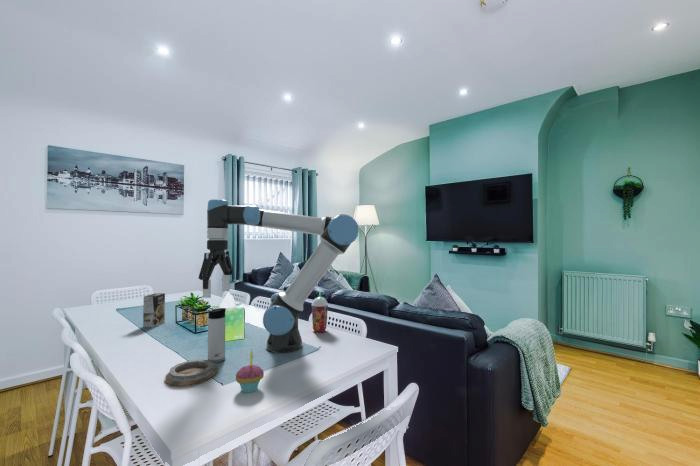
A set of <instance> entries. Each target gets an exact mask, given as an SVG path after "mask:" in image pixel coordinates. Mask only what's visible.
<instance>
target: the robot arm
mask: <svg viewBox="0 0 700 466" xmlns="http://www.w3.org/2000/svg"><path fill="white" fill-rule="evenodd" d="M206 213H207V214H206V216H207V217H206V219H207V220H206V221H207V223H206V224H207V225H206V226H207V227H206V229H207V230H206V234H207V235H206V238H207V239H208V240H207V241H206V249H207V250H208V251H209V252H204V255H203V260H202V263H201V268H200V270H199V274H198V279H199V280H200V281H202V298H205V299H210V298H211V297H212V295H211V294H212V293H211V292H212V280H211V279H210V278H211V277H212V275H213V272H214V270H215V268H216V266H218V265H219V266H220V268H221V271H222V273H223V274H222V287H221V288H222V292H230V288H231V287H230V285H231V284H230V283H231V282H230V281H231V280H230V279H231V278H230V277H231V276H232V275H233V272H234V270H233V266H232V261H231V258H230V251H229V250H228V248H229V241H228V238H229V229H228V228H229V225H241V226H242V225H243V226H251V227H260V228H268V229H273V230H282V231H288V232H293V233H294V232H295V233H301V234H307V235H308V234H309V235H316V236H319V238H320V239H319V240H320V243H319V244H318V245H317V247H316V248H315V249H314V251H313V252H312V254H311V255H310V256H309V258H308V260H307V261H306V262H305V263H304V264H303V266H302V268H301V269H300V270H299V271H298V272H297V274H296V276H295V278H294V279H293V280H292V282H291V283H290V284H289V285H288V287H287V288H286V290H285V291H281V292H279V293H274V294H272V295H271V296H270V305H269V307H268V308H267V309H266V310H265V311H264V313H263V317H262V324H263V327H264V329H265V330H266V331H267V332H268V333H269V335H268V338H267V340H266V349H267V350H268V351H269V352H272V353H280V354H281V353H283V354H284V353H291V352H294V351H295V352H296V351H298V350H299V349H301V348H302V346H303V339H302V336H301V333H300V329H299V316H300V315H301V314H302V313H303V311H304V303H305V302H306V300H307V299H308V298H309V296H310V295H311V293H312V292H313V291H314V290H315V288H316V286H317V285H318V284H319V282H320V281H321V279H323V277H324V276H325V274H326V273H327V272H328V270H329V268H330V267H331V266H332V264H333V263H334V262H335V260H336V258H337V257H338V256H339V255H343V254H345V253H346V251H347V250H348V249H349V247H350V245H352V243H354V242H355V241H356V240H357V238H358V236H359V232H360V231H359V229H360V228H359V225H358V222H357V220H356V219H355V218H353V217H352V216H351V215H348V214H338V215H335V216H324V217H316V216H310V215H302V214H296V213H291V212H290V213H288V212H283V211H282V212H281V211H274V210H267V209H264V208H263V209H261V208H260V207H259V206H258V205H251V204H249V205H243V204H242V205H233V204H232V205H231V204H229V200H226V199H217V198H215V199H210V200H208V201H207V210H206Z"/></svg>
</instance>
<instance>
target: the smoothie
mask: <svg viewBox="0 0 700 466" xmlns="http://www.w3.org/2000/svg"><path fill="white" fill-rule="evenodd" d="M321 292H322V291H319V292H318V293H319V294H318V296H317V297H315V298H314V299H313V301H312V303H311V305H310V306H311V316H312V317H311V319H312V329H313V331H314V333H319V334H320V333H325V332H326V329H327V323H328V311H329V309H328V307H329V303H328V301H327V300H326V298H325V297H323V296H322V295H321Z"/></svg>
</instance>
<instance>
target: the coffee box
mask: <svg viewBox="0 0 700 466" xmlns="http://www.w3.org/2000/svg"><path fill="white" fill-rule="evenodd" d="M142 305H143V306H142V307H143V310H142V311H143V313H142V315H143V316H142V322H143V323H142V327H143V328H156V327H158V326H160V325H163V324H165V321H166V320H165V319H166V317H165V316H166V313H165V312H166V309H165V308H166V306H165V305H166V293H158V292H157V293H151V294H148V295H145V296H143V304H142Z"/></svg>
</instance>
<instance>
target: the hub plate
mask: <svg viewBox="0 0 700 466" xmlns="http://www.w3.org/2000/svg"><path fill="white" fill-rule="evenodd" d="M217 373H218V367H217V366H216V365H215V364H214V363H213V362H211V361H209V360H208V359H200V358H199V359H192V360H186V361H183V362H180V363H177V364H175V365H174V366H171V368H170V369H169V372H167V374H166V375H165V376H164V377H165V378H164V379H165V380H164V381H165V384H167V385H169V386H170V387H171V386H172V387H191V386H196V385H199V384H203V383H205V382H208V381H209V380H212V379H213V378H214V377H216V376H217Z"/></svg>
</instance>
